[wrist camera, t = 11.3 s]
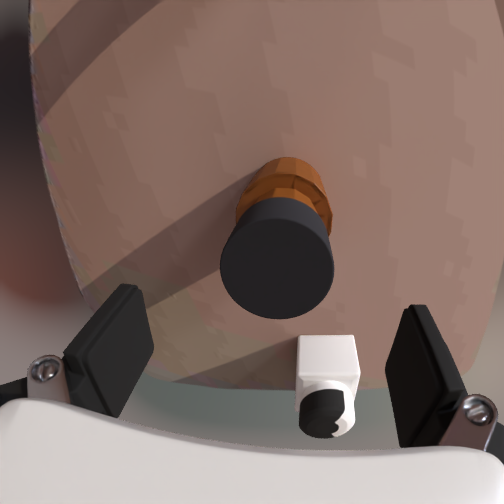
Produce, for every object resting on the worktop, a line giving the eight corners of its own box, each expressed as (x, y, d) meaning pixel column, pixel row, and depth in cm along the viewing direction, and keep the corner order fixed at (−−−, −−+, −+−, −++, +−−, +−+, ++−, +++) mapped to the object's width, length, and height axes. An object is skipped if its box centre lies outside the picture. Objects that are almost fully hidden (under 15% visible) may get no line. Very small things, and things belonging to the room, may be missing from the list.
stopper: (242, 182, 22) (217, 214, 16) (327, 187, 22) (340, 221, 15) (242, 259, 25) (222, 315, 18) (320, 264, 24) (327, 322, 17)
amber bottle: (252, 155, 31) (223, 183, 19) (325, 159, 30) (343, 188, 18) (252, 224, 34) (226, 286, 22) (320, 227, 33) (331, 293, 21)
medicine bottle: (296, 373, 42) (292, 444, 31) (297, 334, 39) (294, 408, 28) (347, 373, 41) (354, 443, 30) (354, 333, 38) (366, 407, 27)
